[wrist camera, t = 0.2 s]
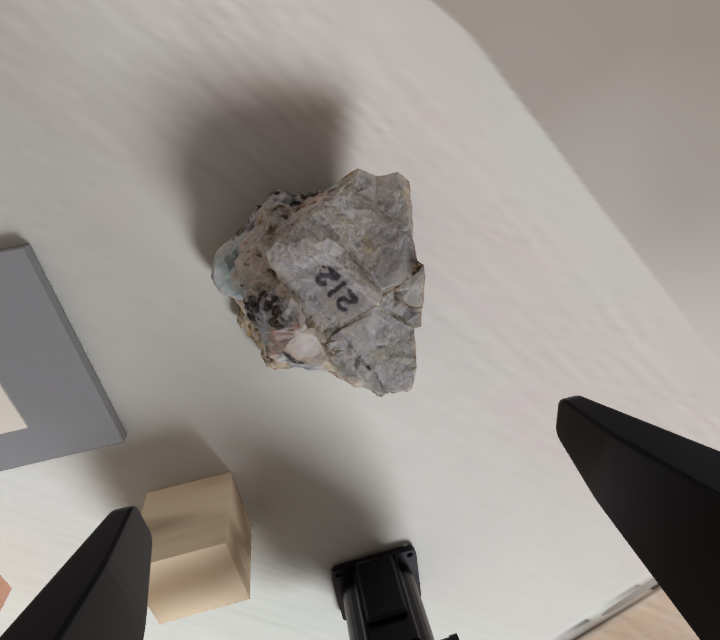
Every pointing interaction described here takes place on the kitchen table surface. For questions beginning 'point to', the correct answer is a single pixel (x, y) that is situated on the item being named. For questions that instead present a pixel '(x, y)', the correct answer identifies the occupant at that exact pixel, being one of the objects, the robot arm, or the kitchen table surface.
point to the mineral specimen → (331, 281)
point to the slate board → (44, 373)
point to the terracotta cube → (3, 591)
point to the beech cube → (197, 547)
